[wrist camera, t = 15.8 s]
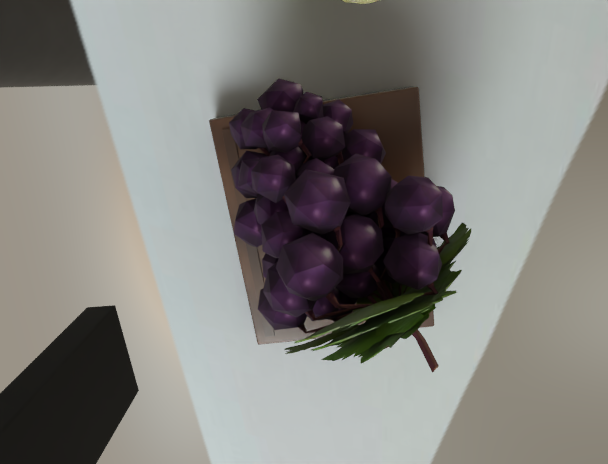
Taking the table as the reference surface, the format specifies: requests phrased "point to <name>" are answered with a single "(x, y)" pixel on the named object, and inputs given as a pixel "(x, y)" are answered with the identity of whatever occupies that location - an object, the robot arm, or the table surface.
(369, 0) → the mug
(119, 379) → the robot arm
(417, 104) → the cutting board
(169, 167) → the table surface
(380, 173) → the fruit
